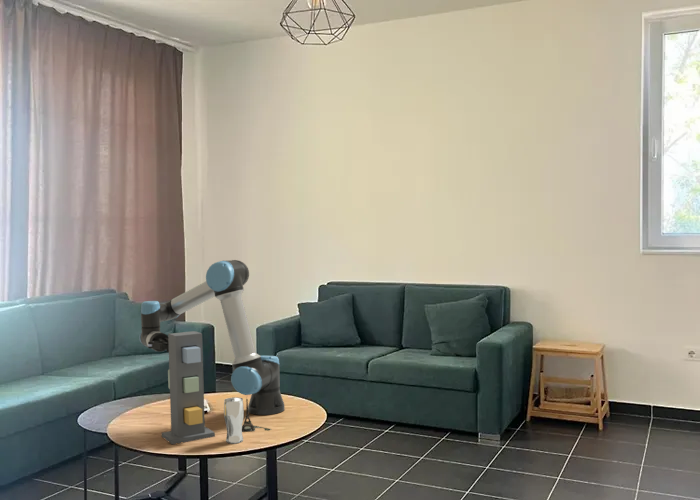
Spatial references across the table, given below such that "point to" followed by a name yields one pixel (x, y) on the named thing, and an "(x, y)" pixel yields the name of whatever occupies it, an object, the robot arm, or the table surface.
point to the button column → (177, 396)
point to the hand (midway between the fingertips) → (177, 348)
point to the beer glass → (234, 419)
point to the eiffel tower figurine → (249, 422)
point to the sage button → (188, 383)
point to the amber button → (192, 415)
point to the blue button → (191, 354)
